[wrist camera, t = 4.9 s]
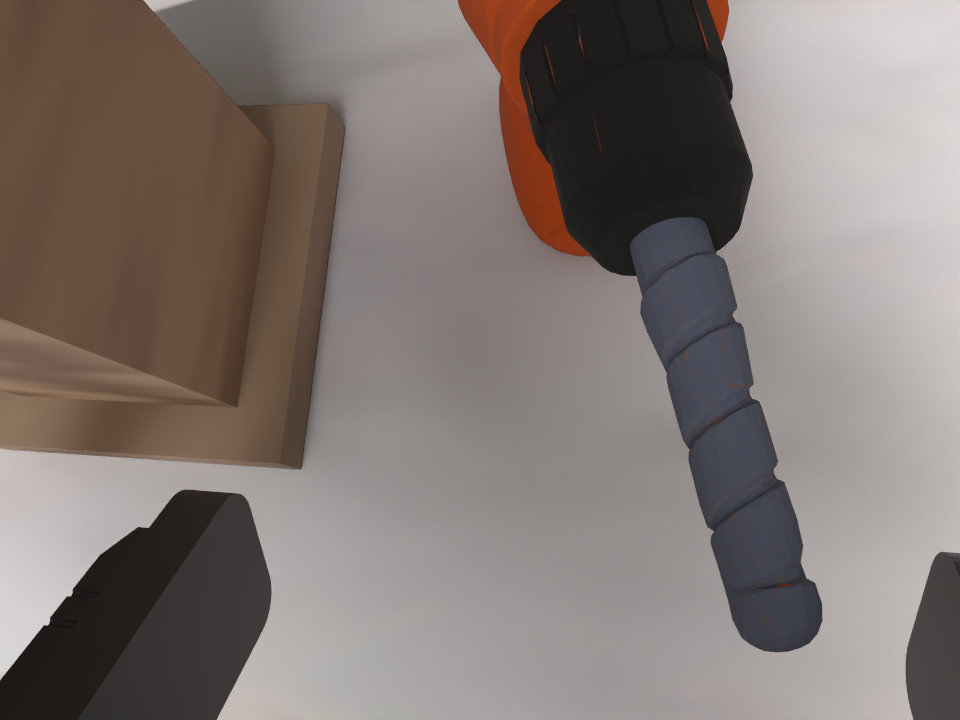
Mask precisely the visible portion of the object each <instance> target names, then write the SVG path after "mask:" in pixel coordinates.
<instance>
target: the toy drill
mask: <svg viewBox="0 0 960 720" xmlns="http://www.w3.org/2000/svg"><path fill="white" fill-rule="evenodd" d="M458 3H459V7H460V9H461V12H462V14H463V16H464V18H465V20H466V22H467V23H468V25H469V26H470V28H471V29H472V31H473V33H474V34H475V36H476V37H477V39H478V40H479V42H480V43H481V45H482V47H483V48H484V50H485V51H486V53H487V54H488V56H489V57H490V59H491V61H492V62H493V64H494V65H495V67H496V68H497V70H498V72H499V73H500V75H501V81H500V86H499V111H500V119H501V128H502V136H503V141H504V147H505V152H506V157H507V162H508V166H509V171H510V175H511V179H512V183H513V187H514V190H515V193H516V196H517V199H518V203H519V205H520V208H521V210H522V212H523V214H524V217H525V219H526V221H527V223H528V225H529V226H530V228H531V229H532V230H533V231H534V233H535V234H536V235H537V236H538V237H539V239H540V240H541V241H543V242H545V243H546V244H548V245H549V246H551V247H553V248H554V249H556V250H558V251H560V252H564V253H568V254H572V255H576V256H592V257H593V258H594V259H595V260H596V261H597V262H598V263H599V264H600V265H601V266H602V267H603V268H605V269H607V270H608V271H610V272H613V273H616V274H620V275H626V276H637V278H638V282H639V286H640V290H641V293H642V297H643V299H642V301H641V316H642V319H643V322H644V324H645V327H646V330H647V333H648V335H649V337H650V339H651V341H652V343H653V345H654V347H655V349H656V351H657V353H658V356H659V358H660V360H661V362H662V364H663V366H664V368H665V370H666V372H667V383H668V388H669V392H670V395H671V399H672V403H673V406H674V410H675V414H676V417H677V421H678V425H679V428H680V431H681V434H682V437H683V440H684V442H685V443H686V445H687V447H688V448H689V450H690V451H689V464H690V468H691V472H692V476H693V480H694V484H695V488H696V492H697V495H698V499H699V503H700V507H701V510H702V513H703V515H704V518H705V521H706V524H707V527H709V528H710V529H711V530H713V531H714V533H713V534H712V536H711V545H712V548H713V552H714V555H715V558H716V561H717V565H718V568H719V571H720V574H721V578H722V581H723V584H724V588H725V591H726V595H727V598H728V602H729V606H730V610H731V615H732V619H733V621H734V623H735V625H736V627H737V629H738V631H739V633H740V635H741V637H742V638H743V639H744V640H746V641H747V642H748V643H749V644H751V645H753V646H755V647H757V648H759V649H761V650H763V651H769V652H788V651H791V650H795V649H798V648H801V647H803V646H805V645H807V644H808V643H810V642H811V641H812V639H813V638H814V637H815V636H816V635H817V633H818V631H819V628H820V625H821V623H822V603H821V600H820V597H819V594H818V591H817V588H816V585H815V583H814V582H812V581H810V580H808V579H806V576H805V573H804V571H803V568H802V565H801V556H802V549H803V544H802V539H801V535H800V530H799V526H798V521H797V518H796V515H795V512H794V509H793V506H792V503H791V500H790V498H789V495H788V492H787V489H786V486H785V483H784V482H783V481H780V480H778V479H777V478H776V477H775V475H774V471H773V469H774V468H775V467H776V465H777V462H778V459H777V456H776V453H775V450H774V446H773V443H772V440H771V436H770V433H769V430H768V427H767V423H766V420H765V417H764V414H763V410H762V407H761V405H760V402H759V401H757V400H754V399H752V398H751V396H750V393H749V388H750V387H751V386H752V385H753V384H754V382H753V377H752V372H751V366H750V361H749V356H748V350H747V345H746V340H745V334H744V329H743V327H742V325H741V323H737V322H736V321H735V319H734V318H733V316H732V315H733V312H734V311H735V310H736V309H737V304H736V300H735V296H734V292H733V288H732V284H731V280H730V276H729V272H728V269H727V265H726V263H725V260H724V259H722V258H721V257H719V256H718V255H716V252H717V251H718V250H720V249H721V248H723V247H724V246H725V245H726V244H727V243H728V242H729V241H730V240H731V239H732V238H733V237H734V236H735V234H736V233H737V231H738V230H739V228H740V225H741V221H742V217H743V213H744V209H745V205H746V201H747V197H748V194H749V190H750V186H751V182H752V178H753V172H752V165H751V162H750V159H749V156H748V153H747V150H746V147H745V144H744V142H743V139H742V136H741V133H740V130H739V127H738V124H737V121H736V118H735V116H734V113H733V110H732V107H731V104H730V101H731V99H732V91H733V85H732V80H731V76H730V72H729V67H728V63H727V59H726V55H725V52H724V50H723V47H722V44H721V43H722V40H723V37H724V33H725V30H726V26H727V20H728V14H729V7H728V0H458Z"/></svg>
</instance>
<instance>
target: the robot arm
mask: <svg viewBox="0 0 960 720" xmlns="http://www.w3.org/2000/svg"><path fill="white" fill-rule="evenodd" d="M270 603H271V580H270V576H269V572H268V569H267V565H266V562H265V558H264V555H263V551H262V548H261V544H260V541H259V537H258V534H257V530H256V527H255V523H254V520H253V516H252V513H251V509H250V506H249V503H248V501H247V500H246V498H245V497H244V496H243V495H241V494H235V493H222V492H210V491H197V490H182V491H180V492H178V493H177V494H175V495H174V496H173V497H172V499H171V500H170V501H169V502H168V504H167V505H166V506H165V508H164V509H163V510H162V512H161V513H160V514H159V515H158V517H157V518H156V519H155V521H154V522H153V523H152V525H151V526H150V527H149V528H142V527H138V528H136V529H135V530H134V531H132V532H131V533H129V534H128V535H127V536H125V537H124V538H123V539H121V540H120V541H119V542H117V543H116V544H115V545H113V546H112V547H110V548H109V549H108V550H106V551H105V552H104V553H102V554H101V555H100V556H99V557H98V558H97V560H96V561H95V562H94V563H93V565H92V566H91V567H90V568H89V570H88V571H87V572H86V573H85V575H84V576H83V577H82V578H81V580H80V581H79V582H78V583H77V585H76V586H75V587H74V588H73V594H72V596H71V597H68V596H67V597H66V598H65V600H64V601H63V602H62V603H61V605H60V606H59V607H58V608H57V610H56V611H55V612H54V614H53V615H52V616H51V617H50V623H49V625H48V626H45V625H44V626H43V627H42V629H41V630H40V631H39V632H38V634H37V635H36V636H35V637H34V639H33V640H32V641H31V642H30V644H29V645H28V646H27V647H26V649H25V650H24V651H23V652H22V654H21V655H20V656H19V657H18V659H17V660H16V661H15V662H14V664H13V665H12V666H11V667H10V669H9V670H8V671H7V672H6V674H5V675H4V676H3V678H2V679H1V680H0V720H217V718H218V716H219V714H220V712H221V710H222V708H223V706H224V704H225V702H226V700H227V698H228V696H229V694H230V692H231V691H232V689H233V687H234V685H235V683H236V681H237V679H238V677H239V675H240V673H241V671H242V669H243V667H244V665H245V663H246V661H247V660H248V658H249V656H250V654H251V652H252V650H253V648H254V646H255V644H256V642H257V640H258V638H259V636H260V634H261V632H262V630H263V628H264V626H265V623H266V621H267V617H268V614H269V609H270ZM906 686H907V694H908V699H909V704H910V708H911V712H912V716H913V719H914V720H960V553H949V552H940V553H938V554H937V556H936V557H935V558H934V560H933V563H932V566H931V569H930V572H929V576H928V579H927V582H926V586H925V589H924V593H923V596H922V599H921V603H920V606H919V610H918V613H917V616H916V620H915V623H914V627H913V630H912V633H911V637H910V640H909V644H908V648H907V654H906Z"/></svg>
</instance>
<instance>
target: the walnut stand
mask: <svg viewBox="0 0 960 720" xmlns="http://www.w3.org/2000/svg"><path fill="white" fill-rule="evenodd" d="M344 132H345V127H344V126H343V124H342V123H341V121H340V120H339V119H338V117H337V116H336V114H335V113H334V111H333V110H332V108H331V107H330V105H329V104H328V103H326V104H289V105H252V106H237V105H236V104H235V103H234V102H233V101H232V100H231V98H230V97H229V96H228V95H227V94H226V93H225V92H224V91H223V89H222V88H221V87H220V86H219V85H218V84H217V83H216V82H215V80H214V79H213V78H212V77H211V76H210V75H209V74H208V73H207V71H206V70H205V69H204V68H203V67H202V66H201V65H200V64H199V62H198V61H197V60H196V59H195V58H194V57H193V56H192V55H191V53H190V52H189V51H188V50H187V49H186V48H185V47H184V46H183V45H182V43H181V42H180V41H179V40H178V39H177V38H176V37H175V36H174V34H173V33H172V32H171V31H170V30H169V29H168V28H167V27H166V25H165V24H164V23H163V22H162V21H161V20H160V19H159V18H158V16H157V15H156V14H155V13H154V12H153V11H152V10H151V9H150V7H149V6H148V5H147V4H146V3H145V2H144V1H143V0H0V448H1V449H7V450H22V451H37V452H51V453H66V454H81V455H96V456H110V457H125V458H140V459H155V460H169V461H184V462H199V463H213V464H228V465H243V466H258V467H272V468H287V469H301V465H302V457H303V449H304V441H305V434H306V426H307V418H308V411H309V403H310V395H311V387H312V380H313V372H314V364H315V356H316V349H317V341H318V333H319V325H320V318H321V310H322V302H323V294H324V287H325V279H326V271H327V263H328V256H329V248H330V240H331V232H332V225H333V217H334V209H335V201H336V194H337V186H338V178H339V170H340V163H341V155H342V147H343V139H344Z"/></svg>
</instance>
